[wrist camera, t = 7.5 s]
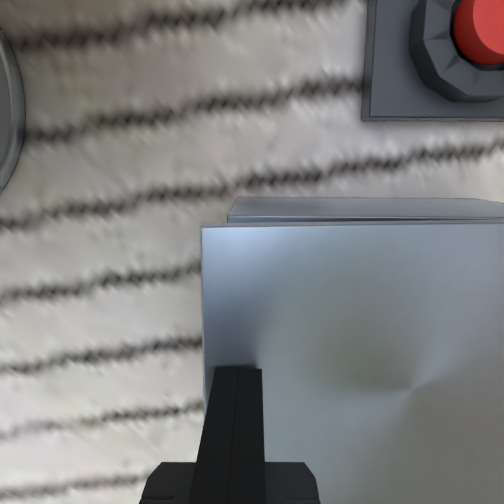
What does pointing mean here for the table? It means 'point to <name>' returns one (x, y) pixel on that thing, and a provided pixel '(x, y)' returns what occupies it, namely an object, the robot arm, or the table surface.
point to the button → (481, 30)
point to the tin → (361, 209)
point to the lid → (367, 351)
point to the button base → (424, 67)
